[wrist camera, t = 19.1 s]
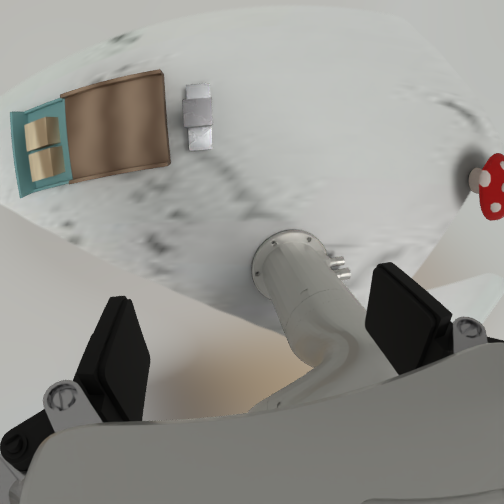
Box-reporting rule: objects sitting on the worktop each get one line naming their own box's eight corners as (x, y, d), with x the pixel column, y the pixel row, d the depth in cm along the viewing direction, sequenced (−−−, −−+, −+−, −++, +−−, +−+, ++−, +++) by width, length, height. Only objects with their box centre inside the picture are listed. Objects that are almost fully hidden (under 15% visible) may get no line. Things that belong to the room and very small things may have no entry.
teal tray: (68, 97, 31) (53, 94, 26) (77, 180, 36) (62, 186, 32) (27, 112, 30) (10, 112, 25) (36, 190, 35) (20, 198, 31)
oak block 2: (49, 147, 30) (28, 154, 29) (53, 176, 31) (32, 181, 31) (62, 145, 33) (41, 152, 33) (65, 171, 35) (45, 177, 34)
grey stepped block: (209, 86, 34) (210, 71, 25) (212, 148, 38) (214, 152, 29) (187, 87, 34) (181, 73, 25) (190, 150, 38) (185, 154, 29)
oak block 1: (45, 116, 28) (24, 125, 27) (48, 144, 29) (26, 151, 29) (58, 117, 31) (38, 124, 31) (60, 142, 33) (40, 149, 33)
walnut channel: (163, 74, 33) (160, 69, 29) (170, 163, 38) (167, 166, 35) (70, 96, 31) (60, 94, 28) (78, 180, 36) (69, 184, 33)
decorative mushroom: (492, 194, 49) (539, 214, 35) (459, 222, 50) (509, 249, 36) (481, 138, 43) (535, 150, 29) (447, 162, 44) (506, 179, 30)
